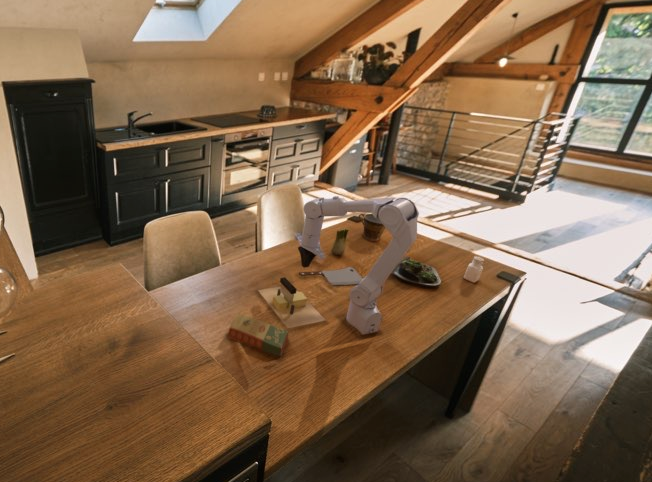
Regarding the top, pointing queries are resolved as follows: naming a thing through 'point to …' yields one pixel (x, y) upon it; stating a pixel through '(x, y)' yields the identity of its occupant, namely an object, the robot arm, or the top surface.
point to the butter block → (297, 300)
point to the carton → (258, 334)
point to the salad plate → (416, 273)
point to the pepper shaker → (474, 269)
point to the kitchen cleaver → (338, 276)
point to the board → (292, 310)
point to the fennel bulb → (340, 242)
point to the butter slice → (279, 303)
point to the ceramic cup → (372, 227)
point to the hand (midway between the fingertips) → (305, 266)
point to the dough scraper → (287, 289)
